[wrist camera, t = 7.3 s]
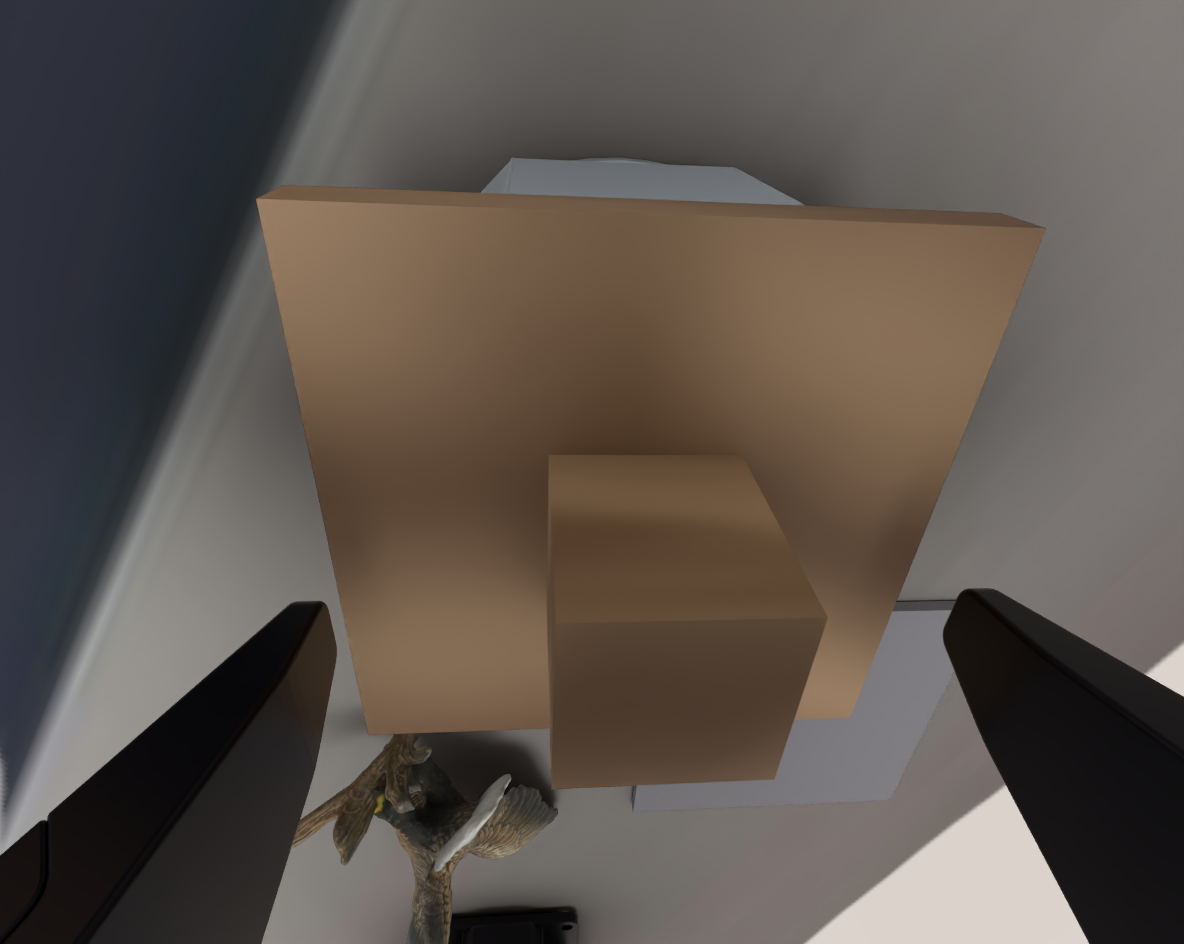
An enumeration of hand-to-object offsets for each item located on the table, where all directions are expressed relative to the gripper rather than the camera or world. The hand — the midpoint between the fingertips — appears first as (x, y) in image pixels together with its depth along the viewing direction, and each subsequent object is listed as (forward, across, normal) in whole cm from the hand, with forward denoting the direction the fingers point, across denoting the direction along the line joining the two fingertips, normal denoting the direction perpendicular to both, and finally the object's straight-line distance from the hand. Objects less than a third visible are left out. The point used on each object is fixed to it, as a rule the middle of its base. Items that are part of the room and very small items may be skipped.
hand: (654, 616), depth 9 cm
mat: (+7, -7, +12) cm, 16 cm away
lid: (+3, 0, 0) cm, 3 cm away
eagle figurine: (+8, +5, +15) cm, 17 cm away
